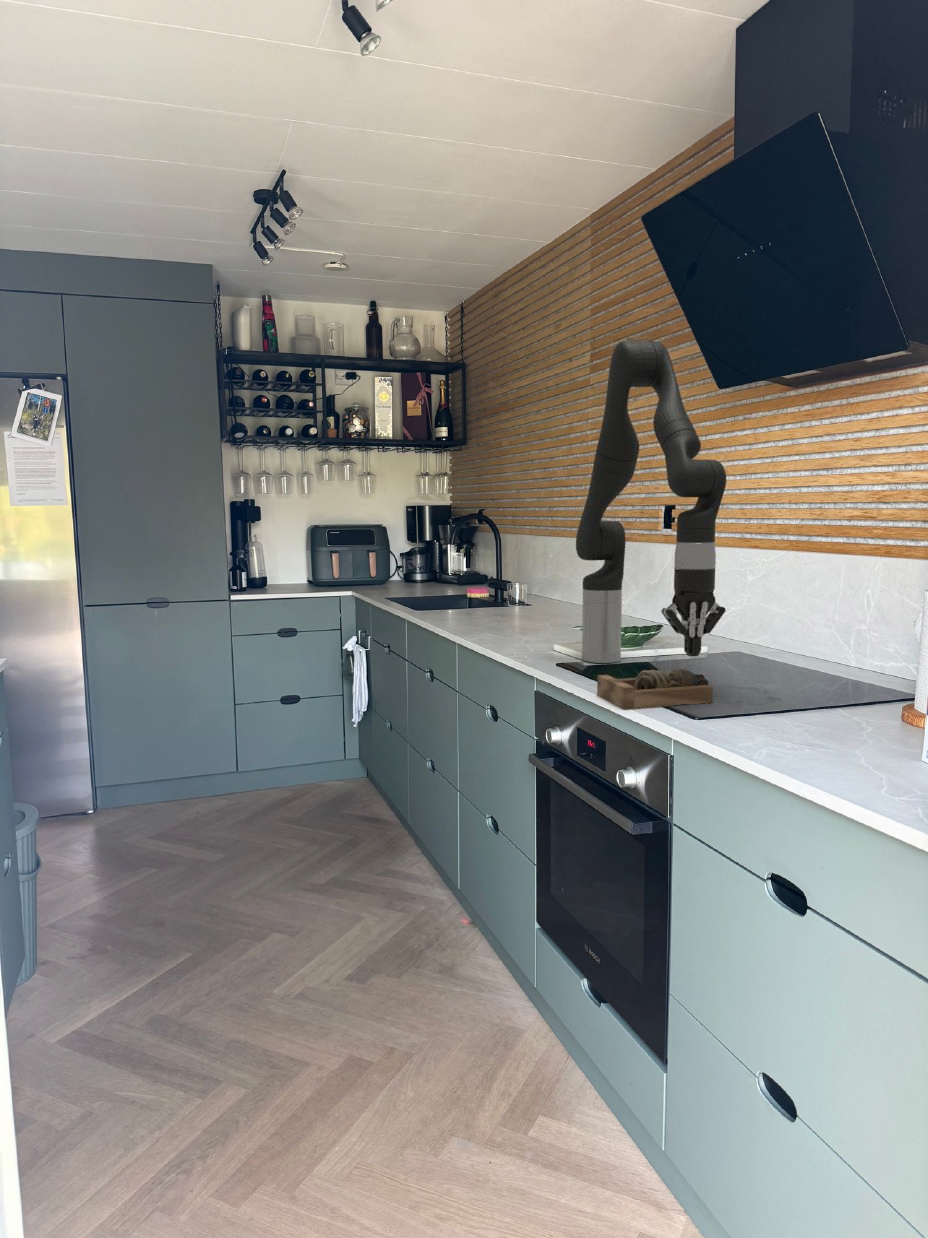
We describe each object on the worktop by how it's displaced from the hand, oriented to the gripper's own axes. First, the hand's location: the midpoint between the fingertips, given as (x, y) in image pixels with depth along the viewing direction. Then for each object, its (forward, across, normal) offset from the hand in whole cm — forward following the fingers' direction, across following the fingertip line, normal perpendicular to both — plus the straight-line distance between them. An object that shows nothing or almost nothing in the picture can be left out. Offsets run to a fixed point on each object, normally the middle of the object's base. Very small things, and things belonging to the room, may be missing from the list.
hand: (692, 655), depth 158 cm
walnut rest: (+8, +7, 0) cm, 11 cm away
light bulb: (+5, -3, +1) cm, 6 cm away
